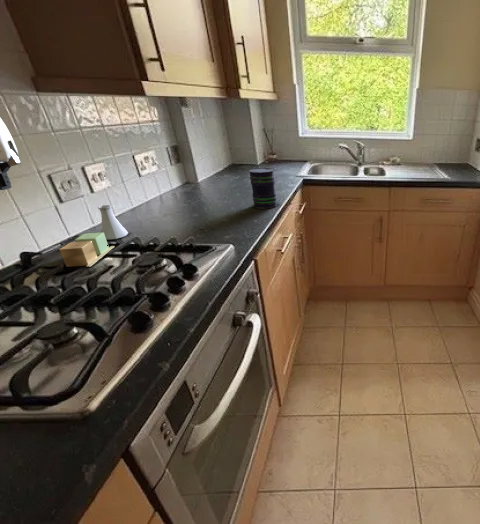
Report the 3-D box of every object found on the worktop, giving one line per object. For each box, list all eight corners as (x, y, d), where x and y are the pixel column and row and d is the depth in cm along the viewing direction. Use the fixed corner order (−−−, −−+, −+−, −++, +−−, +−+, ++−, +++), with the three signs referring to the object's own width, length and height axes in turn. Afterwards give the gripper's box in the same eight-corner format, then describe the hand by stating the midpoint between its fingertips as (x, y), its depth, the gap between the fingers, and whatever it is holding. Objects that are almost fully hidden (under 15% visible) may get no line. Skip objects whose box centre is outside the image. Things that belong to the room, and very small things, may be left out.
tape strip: (86, 266, 87) (86, 266, 87) (110, 246, 99) (110, 246, 99) (90, 266, 87) (90, 265, 87) (114, 246, 99) (114, 246, 99)
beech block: (66, 266, 87) (59, 249, 85) (76, 259, 91) (70, 242, 89) (88, 265, 88) (81, 248, 86) (97, 257, 92) (91, 241, 90)
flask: (112, 232, 110) (102, 202, 106) (133, 232, 110) (124, 203, 106) (94, 240, 104) (83, 209, 100) (117, 240, 104) (107, 209, 99)
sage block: (80, 256, 93) (74, 239, 91) (90, 249, 97) (84, 233, 95) (101, 254, 94) (95, 238, 92) (109, 248, 98) (103, 232, 96)
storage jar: (264, 210, 137) (258, 165, 129) (248, 206, 142) (242, 162, 134) (282, 204, 144) (278, 162, 137) (267, 201, 149) (262, 160, 142)
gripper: (-88, 107, 71) (-47, 192, 79) (-2, 111, 74) (29, 192, 82) (-56, 107, 78) (-22, 185, 85) (21, 111, 81) (48, 186, 89)
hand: (3, 188), depth 84 cm, fingers closed
